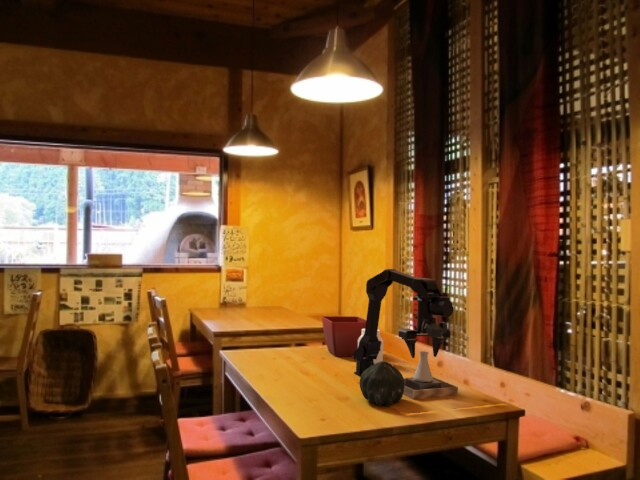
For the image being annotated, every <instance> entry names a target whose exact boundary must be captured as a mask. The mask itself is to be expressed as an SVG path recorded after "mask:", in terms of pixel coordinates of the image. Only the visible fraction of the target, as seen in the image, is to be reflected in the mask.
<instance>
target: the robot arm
mask: <svg viewBox="0 0 640 480" xmlns="http://www.w3.org/2000/svg"><path fill="white" fill-rule="evenodd" d="M394 283H397V284H400V285H403V286H405V287H407V288H408V287H409V288H410V289H411V290H412V291H413V292H414V293H416V295H415V296H414V297H413V298H412V300H413V301H417V310H416V312H417V313H416V315H415V316H414V319H415V320H416V326H414V329H410V328H400V329H399V331H398V337H399V338H401V339H402V341H404V343H405V344H406V346H407V349H408V351H409V354H410V356H411V358H412V359H415V357H416V343H417V341H418V339H416V338H417V337H426V336H427V337H428V336H429V337H430V338H431V340H432V353H433V357H435V358H436V357H437V356H438V354H439V351H440V349H441V346H442V344H443V343H444V342H445V341H447V340H448V338H451V335H452V334H451V330H450V329H449V328H448V324H447V323H446V322H440V323H437V318H436V317H437V316H439V317H445V318H450V317H452V315H453V312H454V305H453V302H452V301H451V300H450V299H451V297H449V296H443V294H442V293H441V291H440V289H439V287H438V285H437V282H436V280H435V279H434V278H428V277H427V278H425V277H416V276H413V275H411V274H407V273H405V272H403V271H398V270H397V269H395V268H386V269H385V268H384V270H383V271H382V272H380V273H378V274H376V275H373V277H371V278H369V279H367V281H366V285H365V287H366V288H365V293H366V295H367V298H368V305H367V312H366V313H367V314H366V319H365V320H366V326H365V333H364V335H363V337H362V338H361V340H360V342H359V346H358V349H357V350H356V351H355V352H354V353H353V356H352V359H353V360H355V361H356V365H355V371H354V372H353V373H354V375H357V376H358V377H361V375H362V373H363V372H364V371H365V370H366V369H367V368H369V367H370V366H372V365H374V363H373V361H374V360H373V359H377V355H378V354H379V351H381V349H380V346H381V341H379V340H378V338H377V330H378V329H379V321H380V313H381V306H382V301H383V300H384V298H385V297H386V295H387V292H388V289H389V287H390V286H392V285H393V284H394ZM435 316H436V317H435Z"/></svg>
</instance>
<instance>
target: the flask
mask: <svg viewBox="0 0 640 480" xmlns="http://www.w3.org/2000/svg"><path fill="white" fill-rule="evenodd" d="M419 355H420V356H419V360H418V364H417V368H416V370H415V372H414V375H413V376H412V377H413V379H414V380H416V381H421V382H431V381H433V377H434V376H433V375H432V372H431V368H430V364H429V359H428V357H429V356H428V355H429V351H422V350H420V351H419Z"/></svg>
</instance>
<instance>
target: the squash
mask: <svg viewBox="0 0 640 480" xmlns="http://www.w3.org/2000/svg"><path fill="white" fill-rule="evenodd" d="M404 386H405V383H404V376H403V374H402V373H401V372H400V371H399V370H398V368H396V367H395V366H394V365H392V364H391V363H390V362H388V361H386V360H383V361H381V362H378V363H376V364H374V365H372V366H370V367H369V368H367V369H366V370H365V371H364V372H363V373H362V375H361V376H360V378H359V388H360V391H361V394H362V396H363V398H364V399H365V400H367V401H370V402H372V403H375V404H376V405H377V406H383V405H384V406H386V407H389V406H390V405H392V404H398V403H400V401H401V400H402V398H403V396H404V395H403V393H404Z"/></svg>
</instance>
